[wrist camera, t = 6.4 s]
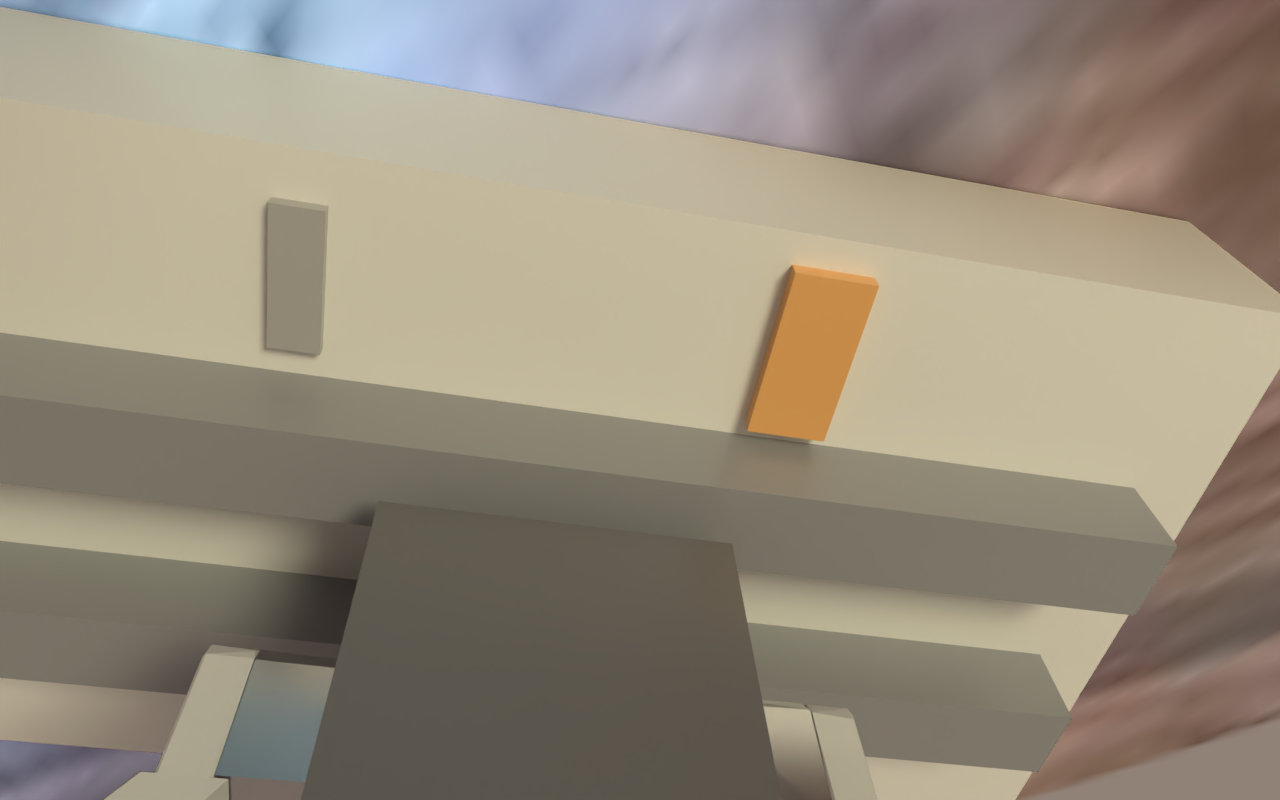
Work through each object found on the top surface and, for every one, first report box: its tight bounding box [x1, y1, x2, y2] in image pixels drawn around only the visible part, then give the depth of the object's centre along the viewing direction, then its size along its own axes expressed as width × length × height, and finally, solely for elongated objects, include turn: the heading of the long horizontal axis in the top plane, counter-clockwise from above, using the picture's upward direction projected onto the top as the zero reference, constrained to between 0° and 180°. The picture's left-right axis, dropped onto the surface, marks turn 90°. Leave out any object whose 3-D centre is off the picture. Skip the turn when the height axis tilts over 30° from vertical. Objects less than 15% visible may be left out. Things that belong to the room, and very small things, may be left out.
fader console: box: [0, 7, 1280, 800], centre depth 14 cm, size 24×10×4 cm, turn 79°
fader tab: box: [301, 501, 781, 800], centre depth 12 cm, size 4×4×6 cm
